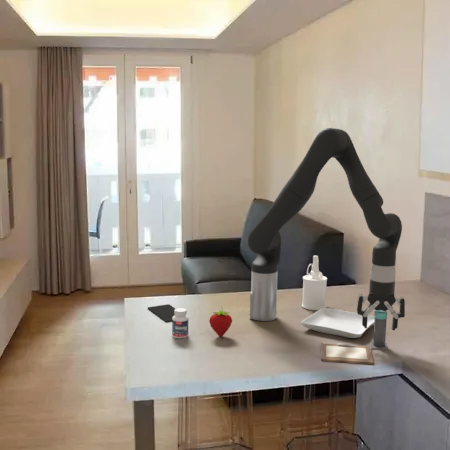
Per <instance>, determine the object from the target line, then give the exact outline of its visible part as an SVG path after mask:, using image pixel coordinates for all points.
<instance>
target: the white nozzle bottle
mask: <svg viewBox="0 0 450 450" xmlns="http://www.w3.org/2000/svg"><path fill="white" fill-rule="evenodd" d="M319 262H320V261H319V255H313V256H312V263H309V264H308V266H307V269H306V275H303V276H302V281H303V283H302V304H301V307H302V308H303V309H306V310H308V311H318V310H320V309H322V308H327V304H326V302H327V300H326V299H327V281H328V278H327V276H324V275H323V273H322V272H321V271H320V270H319ZM309 268H311V270H310V272H309Z"/></svg>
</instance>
